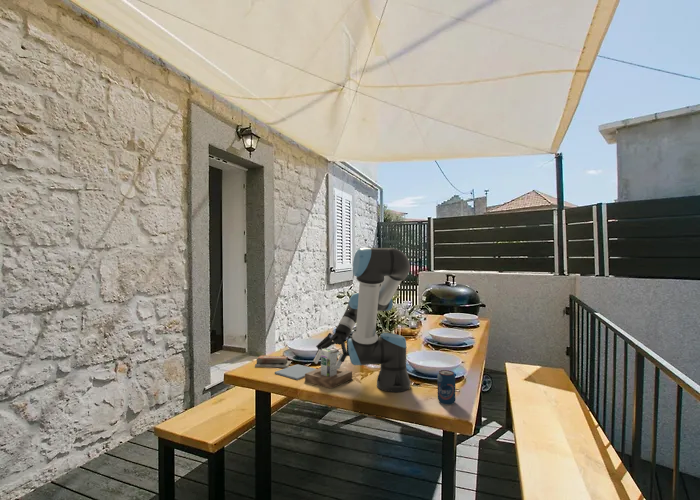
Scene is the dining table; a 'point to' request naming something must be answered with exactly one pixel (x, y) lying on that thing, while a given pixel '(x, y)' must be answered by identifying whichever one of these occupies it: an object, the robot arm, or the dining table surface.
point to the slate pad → (295, 371)
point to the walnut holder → (328, 378)
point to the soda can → (446, 387)
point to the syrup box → (328, 362)
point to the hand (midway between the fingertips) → (325, 364)
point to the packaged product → (272, 361)
